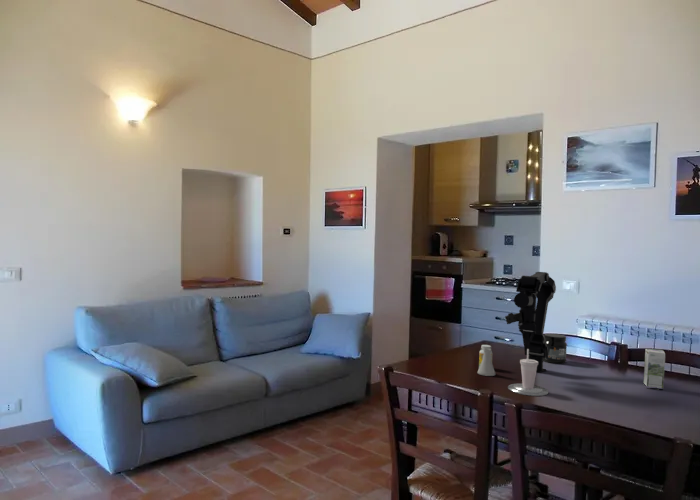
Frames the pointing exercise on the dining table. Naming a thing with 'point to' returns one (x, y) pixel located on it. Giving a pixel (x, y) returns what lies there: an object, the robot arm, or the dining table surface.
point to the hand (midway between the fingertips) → (525, 347)
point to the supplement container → (555, 348)
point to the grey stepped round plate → (528, 390)
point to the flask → (486, 364)
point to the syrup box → (654, 368)
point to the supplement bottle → (483, 353)
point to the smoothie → (528, 371)
